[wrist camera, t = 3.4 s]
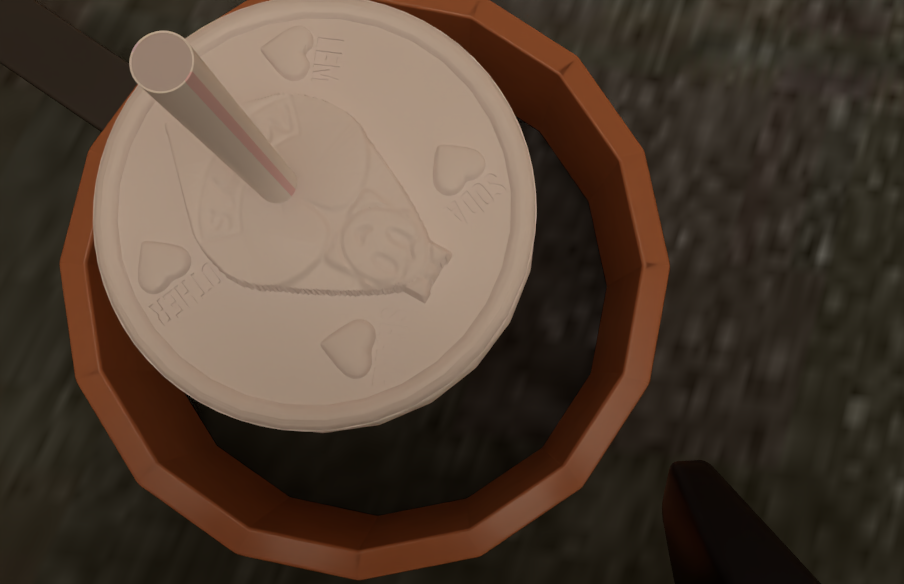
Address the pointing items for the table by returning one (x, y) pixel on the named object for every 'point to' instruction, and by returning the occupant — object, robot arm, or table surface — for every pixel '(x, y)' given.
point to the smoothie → (314, 213)
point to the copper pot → (239, 488)
